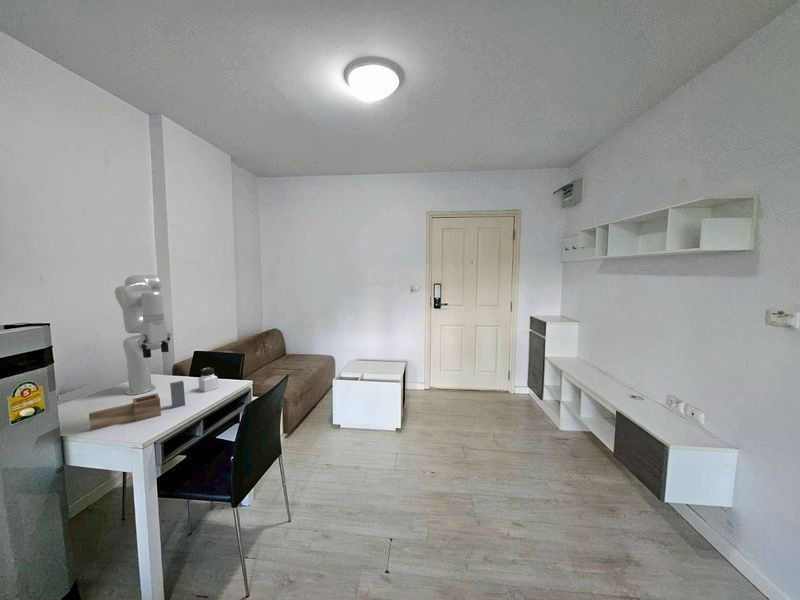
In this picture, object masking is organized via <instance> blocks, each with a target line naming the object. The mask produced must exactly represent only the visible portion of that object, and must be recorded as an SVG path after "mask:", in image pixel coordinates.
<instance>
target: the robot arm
mask: <svg viewBox="0 0 800 600" xmlns="http://www.w3.org/2000/svg"><path fill="white" fill-rule="evenodd" d="M161 288H162V282H161V279H160V278H159V276H157V275H155V274H153V275H152V274H150V275H149V274H145V275H143V274H142V275H141V274H139V275H137V274H136V275H135V274H134V275H130V276H128V277H127V278H125V280H124V285H119V286H116V287H115V289H114V295H115V299H116V301H117V302H118V305H120V308H121V310H122V317H123V324H124V326H123V327H124V331H125V332H126V333H128V334H137V335H131V336H128V337H126V338H125V339H124V340H123V341H122V342H123V343H122V346H123V349H124V352H125V353H124V354H125V358H126V364H127V365H126V366H127V378H128V389H127V390H126V391H125V394H126V395H130V396H135V395H140V394H141V395H142V394H145V393H148V392H151V391H153V390H155V388H156V385H154V384H152V375H151V373H152V372H151V364H150V363H151V362H150V358H152V351H156V350H160V351H161V352H162V353H168V352H169V343H170V340H171V336H172V333H171V332H168V330H167V324H166V320H165V315H164V306H163V305H164V304H163V302H164V296H163V294H162V293H161V292H160V290H161ZM138 334H139V335H138Z"/></svg>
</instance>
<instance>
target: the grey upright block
mask: <svg viewBox="0 0 800 600" xmlns="http://www.w3.org/2000/svg"><path fill="white" fill-rule="evenodd" d="M169 383H170V382H169ZM184 383H185V382H184V381H183V380H179V381H175V382H171V383H170V384H169V386H170V397H171V398H170V399H171V401H170V402H171V408H172V409H176V408H179V407H185V406H186V400H185V399H186V397H185V384H184Z"/></svg>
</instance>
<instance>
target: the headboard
mask: <svg viewBox="0 0 800 600" xmlns="http://www.w3.org/2000/svg"><path fill="white" fill-rule="evenodd" d="M161 408H162V407H161V398H160V396H159V393H158V392H157V393H153V394H148V395H145V396H139V397H134V398H132V402H131V403H128V404H127V403H126V404H123V405H120V406H119V405H118V406H115V407H111V408H109V407H108V408H105V409H101V410H97V411H92V412H89V413H88V418H89V419H88V420H89V429H90V432H92V431H93V432H94V431H96V430H100V429H103V428H107V427H111V426H115V425H120V424H124V423H127V422H132V421H135V423H137V422H142V421H145V420H148V419H153V418H156V417H160V416H162V410H161Z"/></svg>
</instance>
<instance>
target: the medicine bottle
mask: <svg viewBox="0 0 800 600" xmlns="http://www.w3.org/2000/svg"><path fill="white" fill-rule="evenodd" d="M214 370H215V369H214V368H213V367H205V368H203V369H201V370H200V373H201V376H200V377H198V390H199V391H200V392H204V393H207V392H210V391H211V392H212V391H213V390H217V389H218V388H219V381H218V379H219V378H218V376H217V375H215V371H214Z"/></svg>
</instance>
